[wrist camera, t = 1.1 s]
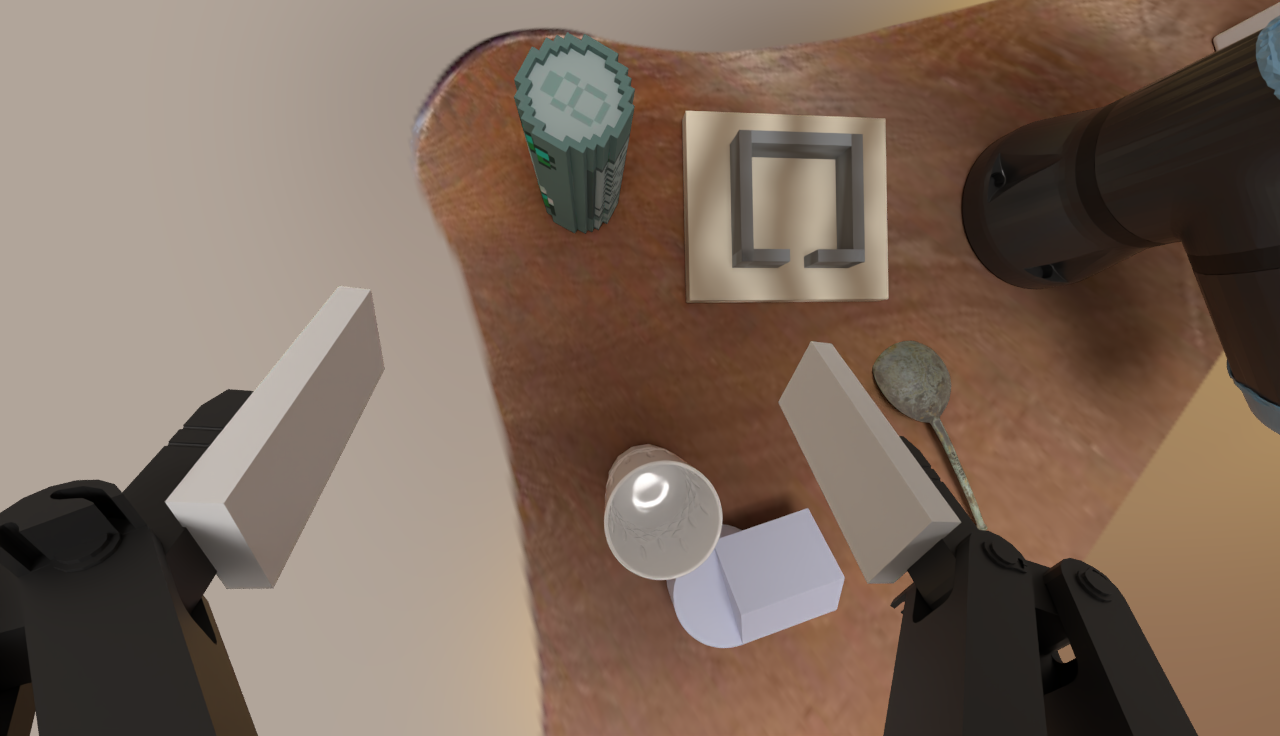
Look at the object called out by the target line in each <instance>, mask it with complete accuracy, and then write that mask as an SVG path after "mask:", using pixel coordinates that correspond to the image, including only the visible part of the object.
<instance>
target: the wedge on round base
mask: <svg viewBox="0 0 1280 736" xmlns="http://www.w3.org/2000/svg"><path fill="white" fill-rule="evenodd" d="M844 578H845V577H844V575H843V573H842V571H841V570H840V568H839V566H838V564H837V562H836V560H835V558H834V556H833V554H832V552H831V551H830V549H829V547H828V545H827V543H826V541H825V539H824V537H823V535H822V533H821V532H820V530H819V528H818V526H817V524H816V522H815V520H814V518H813V516H812V515H811V513H810V511H809V509H808V508H807V509H804V510H801V511H798V512H795V513H792V514H789V515H786V516H784V517H781V518H778V519H775V520H772V521H769V522H766V523H763V524H760V525H757V526H754V527H751V528H748V529H746V530H743V531H742V530H740V529H738V528H736V527H733V526H730V525H724V524H722V529H721V533H720V537H719V540H718V542H717V544H716V547H715V548H714V550H713V552H712V553H711V555H710V556H709V557H708V558H707V560H706V561H705V562H704V563H703V564H702V565H700V566H699V567H698V568H697V569H695V570H694V571H692V572H690V573H688V574H686V575H684V576H681V577H678V578H675V579H670V580H667V587H668V591H669V594H670V597H671V600H672V603H673V606H674V609H675V611H676V614H677V617H678V619H679V621H680V623H681V624H682V626H683V628H684V629H685V630H686V631H687V632H688V633H689V634H690V635H691V636H692V637H693V638H695V639H696V640H698V641H699V642H701V643H703V644H706V645H709V646H712V647H718V648H730V647H736V646H739V645H743V644H746V643H748V642H751V641H754V640H756V639H759V638H762V637H764V636H767V635H770V634H772V633H775V632H778V631H781V630H783V629H786V628H789V627H791V626H794V625H797V624H799V623H802V622H805V621H808V620H810V619H813V618H816V617H818V616H821V615H824V614H826V613H829V612H832V611H835V610H837V606H838V602H839V598H840V594H841V590H842V586H843V582H844Z"/></svg>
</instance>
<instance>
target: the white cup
mask: <svg viewBox="0 0 1280 736" xmlns="http://www.w3.org/2000/svg"><path fill="white" fill-rule="evenodd" d="M604 529H605V535H606V539H607V542H608V545H609V547H610V549H611V551H612V553H613V554H614V556H615V557H616V559H617V560H618V561H619V562H620V563H621V564H622V565H623V566H624V567H625V568H627V569H628V570H629V571H631V572H633V573H634V574H636V575H639V576H641V577H644V578H648V579H653V580H670V579H675V578H678V577H681V576H684V575H686V574H688V573H690V572H692V571H694V570H695V569H697V568H698V567H699V566H700V565H702V564H703V563H704V562H705V561H706V560H707V558H708V557H709V556H710V555H711V553H712V552H713V550H714V548H715V547H716V544H717V542H718V540H719V537H720V533H721V529H722V507H721V503H720V499H719V497H718V494H717V492H716V490H715V488H714V487H713V485H712V484H711V482H710V481H709V480H708V479H707V478H706V477H705V476H704V475H703V474H702V473H701V472H699V471H698V470H697V469H695V468H694V467H693V466H691V465H690V464H689V463H687V462H686V461H685V460H683V459H682V458H680V457H678V456H677V455H675V454H674V453H672V452H670V451H668V450H667V449H665V448H661V447H658V446H655V445H651V444H645V445H639V446H633V447H631V448H629V449H628V450H626V451H625V452H624V453H622V454H621V455H619V456H618V457H617V459H616V460H615V462H614V464H613V465H612V467H611V469H610V471H609V474H608V481H607V485H606V492H605V513H604Z"/></svg>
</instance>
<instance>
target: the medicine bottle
mask: <svg viewBox="0 0 1280 736" xmlns="http://www.w3.org/2000/svg"><path fill="white" fill-rule="evenodd" d="M1279 15H1280V2H1279V3H1277V4H1275V5H1274V6H1272V7H1270V8H1268V9H1266V10H1264V11H1262V12H1260V13H1258V14H1256V15H1255V16H1253V17H1251V18H1249V19H1247V20H1245V21H1243V22H1241V23H1239V24H1237V25H1236V26H1234V27H1232V28H1230V29H1228V30H1226V31H1224V32H1222V33H1220V34H1218V35H1217V36H1216V37H1214V39H1213V43H1214V46H1215V49H1216V51H1218V50H1220V49H1222V48H1224V47H1226V46H1229V45H1231V44H1233V43H1235V42H1237V41H1239V40H1241V39H1243V38H1245V37H1247V36H1249V35H1251V34H1253V33H1255V32H1257V31H1259V30H1261V29H1263V28H1265V27H1266V26H1267V25H1268V23H1269V22H1270V21H1271V20H1273V19H1274V18H1276V17H1278V16H1279Z"/></svg>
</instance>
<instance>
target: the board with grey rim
mask: <svg viewBox="0 0 1280 736" xmlns="http://www.w3.org/2000/svg"><path fill="white" fill-rule="evenodd" d="M682 129H683V177H684V225H685V272H686V303H721V302H862V301H882V300H886V299H888V245H887V188H886V131H885V119H884V118H859V117H834V116H808V115H783V114H757V113H732V112H707V111H686V112H685V114H684V117H683V120H682Z"/></svg>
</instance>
